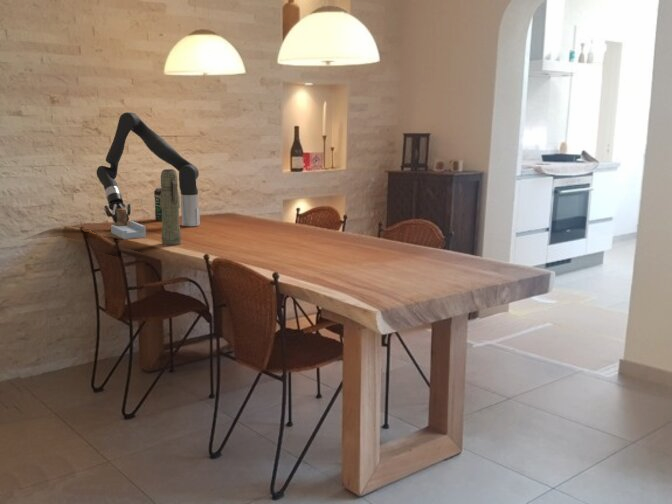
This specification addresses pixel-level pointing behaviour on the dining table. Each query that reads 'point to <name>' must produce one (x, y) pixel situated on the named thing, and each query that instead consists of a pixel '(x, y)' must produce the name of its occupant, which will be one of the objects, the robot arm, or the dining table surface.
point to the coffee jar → (158, 204)
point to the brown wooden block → (121, 217)
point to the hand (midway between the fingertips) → (121, 221)
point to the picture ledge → (129, 230)
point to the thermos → (170, 208)
